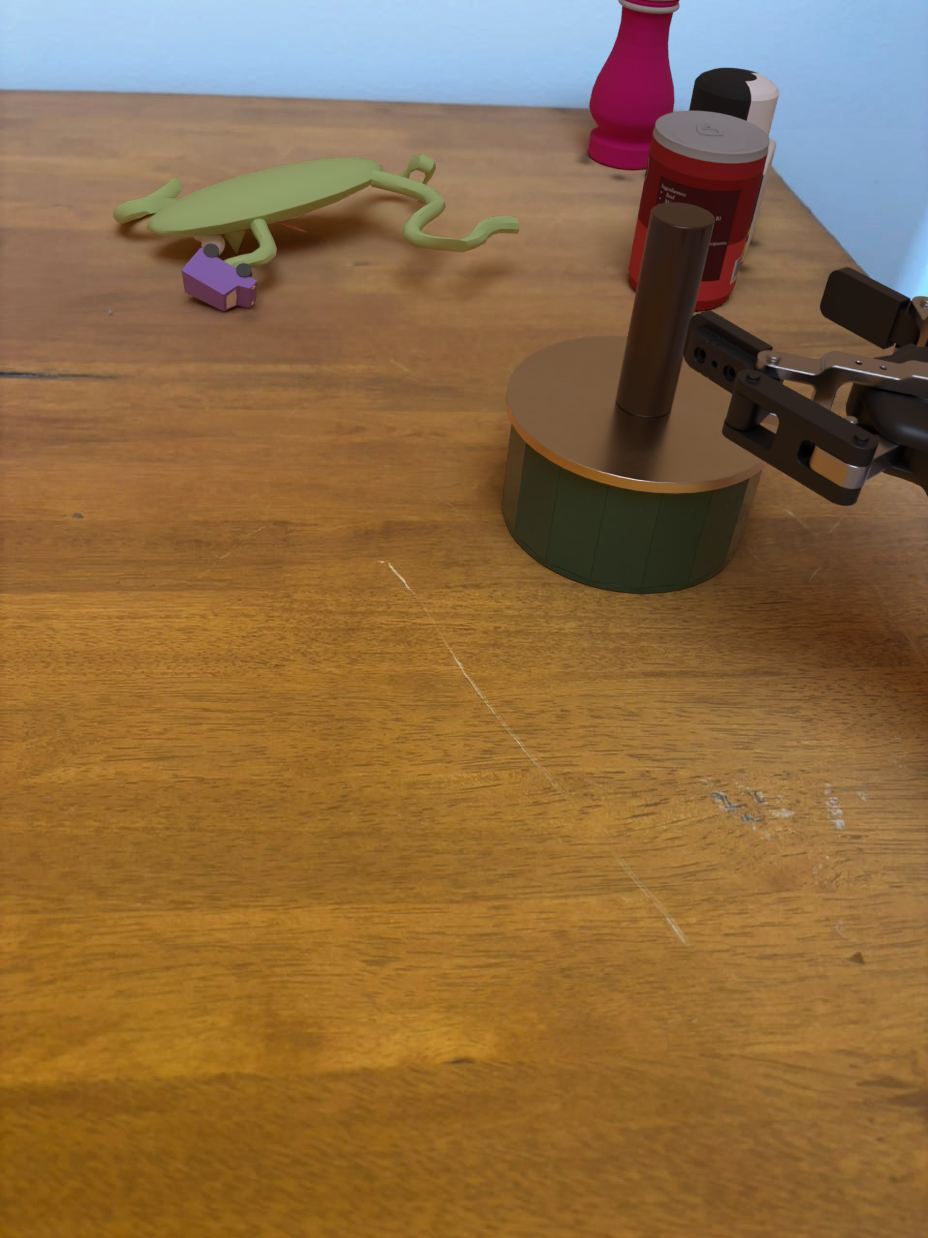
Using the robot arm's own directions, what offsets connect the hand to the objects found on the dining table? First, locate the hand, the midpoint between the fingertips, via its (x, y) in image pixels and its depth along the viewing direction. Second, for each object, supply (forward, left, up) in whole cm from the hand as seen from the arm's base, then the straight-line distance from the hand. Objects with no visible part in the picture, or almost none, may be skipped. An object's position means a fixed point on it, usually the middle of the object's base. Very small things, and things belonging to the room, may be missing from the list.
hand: (763, 309), depth 48 cm
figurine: (+14, -38, -15) cm, 43 cm away
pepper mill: (-15, -56, -15) cm, 60 cm away
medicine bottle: (-16, -39, -15) cm, 44 cm away
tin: (+2, -5, -14) cm, 15 cm away
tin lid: (+2, -5, -8) cm, 10 cm away
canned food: (-11, -31, -15) cm, 36 cm away
